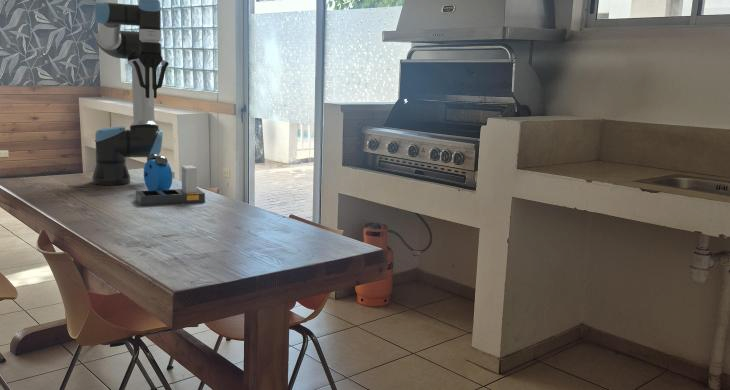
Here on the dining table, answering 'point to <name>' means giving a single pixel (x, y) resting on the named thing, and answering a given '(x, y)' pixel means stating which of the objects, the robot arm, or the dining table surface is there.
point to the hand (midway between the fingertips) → (151, 106)
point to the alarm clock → (157, 173)
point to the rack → (168, 197)
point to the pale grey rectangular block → (189, 179)
